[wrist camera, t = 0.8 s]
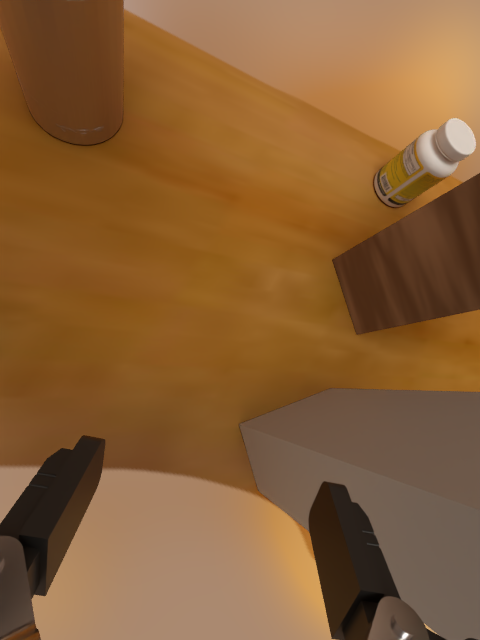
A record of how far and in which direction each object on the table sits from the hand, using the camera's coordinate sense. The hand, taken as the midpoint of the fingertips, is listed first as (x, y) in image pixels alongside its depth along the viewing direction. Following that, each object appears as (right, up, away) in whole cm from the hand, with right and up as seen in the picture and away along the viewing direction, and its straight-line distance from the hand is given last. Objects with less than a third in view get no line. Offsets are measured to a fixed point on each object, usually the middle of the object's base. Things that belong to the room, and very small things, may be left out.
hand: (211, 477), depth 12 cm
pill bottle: (+23, +25, +36) cm, 49 cm away
